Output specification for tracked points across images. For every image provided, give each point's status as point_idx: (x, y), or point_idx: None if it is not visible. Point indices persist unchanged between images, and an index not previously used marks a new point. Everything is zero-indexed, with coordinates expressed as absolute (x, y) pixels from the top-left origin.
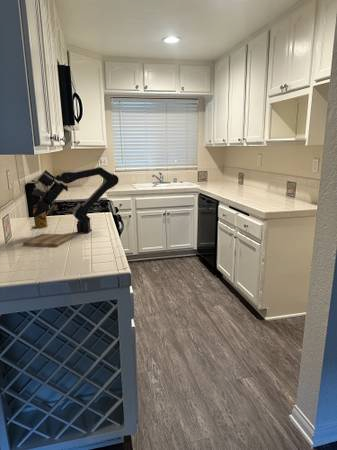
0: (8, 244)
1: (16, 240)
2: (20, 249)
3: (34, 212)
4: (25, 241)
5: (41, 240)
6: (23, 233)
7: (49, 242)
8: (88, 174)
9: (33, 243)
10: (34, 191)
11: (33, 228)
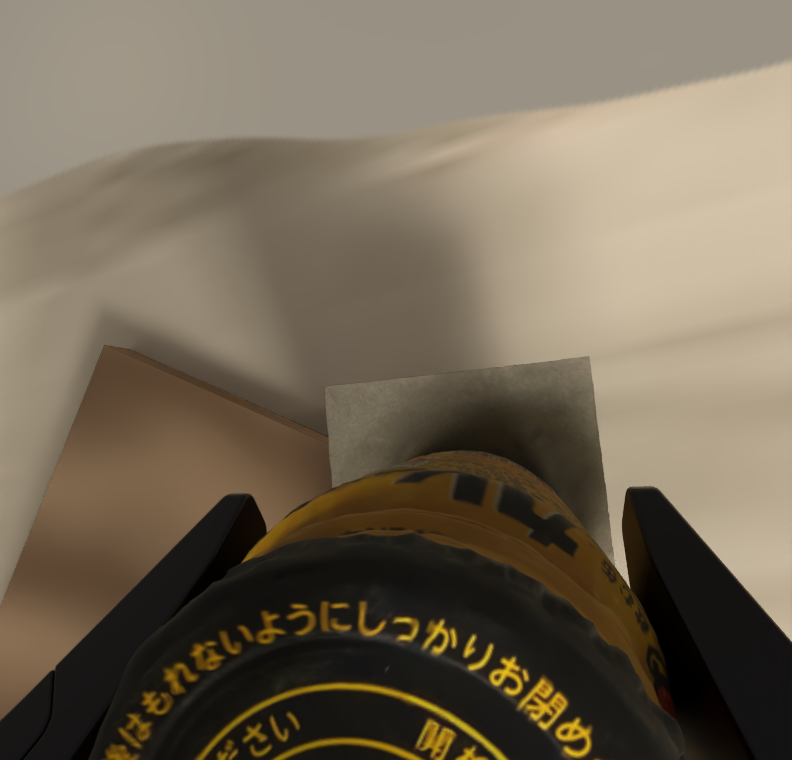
0: (230, 150)
1: (385, 191)
2: (3, 353)
3: (260, 546)
4: (144, 363)
5: (128, 567)
6: (785, 171)
7: (14, 681)
8: None
9: (54, 480)
10: None
11: (402, 421)
